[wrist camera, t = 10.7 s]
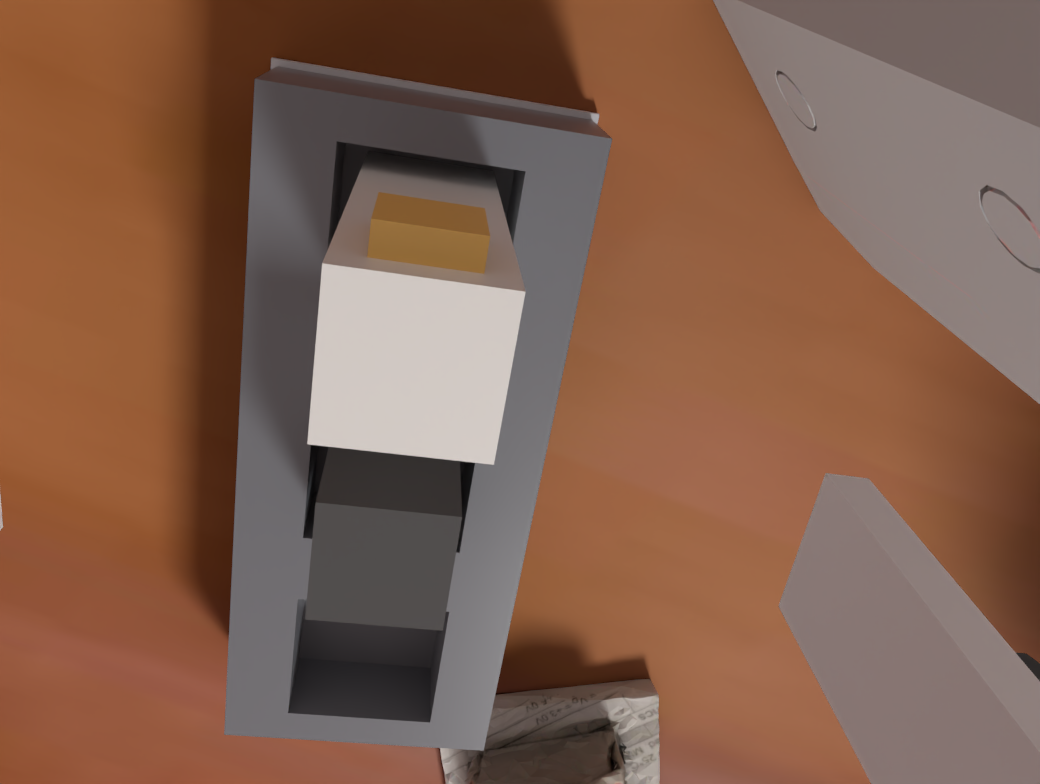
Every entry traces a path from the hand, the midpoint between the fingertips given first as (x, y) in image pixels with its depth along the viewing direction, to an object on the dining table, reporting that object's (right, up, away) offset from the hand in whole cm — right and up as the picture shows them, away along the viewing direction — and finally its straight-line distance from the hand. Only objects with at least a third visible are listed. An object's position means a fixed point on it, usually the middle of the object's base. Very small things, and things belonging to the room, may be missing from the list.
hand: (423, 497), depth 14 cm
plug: (-2, +7, +15) cm, 17 cm away
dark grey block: (-3, 0, +18) cm, 18 cm away
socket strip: (-3, +1, +19) cm, 19 cm away
